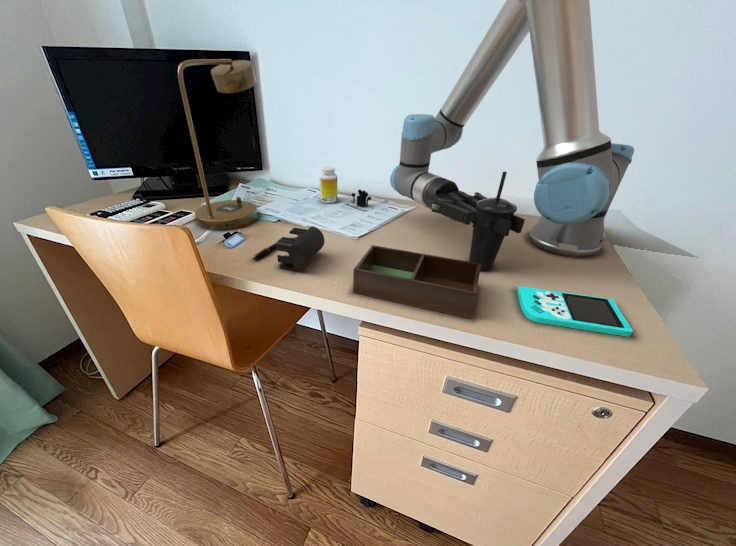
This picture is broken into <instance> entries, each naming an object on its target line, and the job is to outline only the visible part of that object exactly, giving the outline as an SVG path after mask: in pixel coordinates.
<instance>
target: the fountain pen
mask: <svg viewBox="0 0 736 546" xmlns="http://www.w3.org/2000/svg"><path fill="white" fill-rule="evenodd" d="M287 238H292V237H291V236H287ZM275 249H276V242H274V243H273V244H272V245H269V247H268V246H267V247H263V248H261V249H260V250H258V251H257V252H256V253H254V255H253V258H252V260H254V261H255V260H258V259H260V258H263V257H265V256H267V255H268V254H270V253H271V252H272V251H274V250H275Z"/></svg>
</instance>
